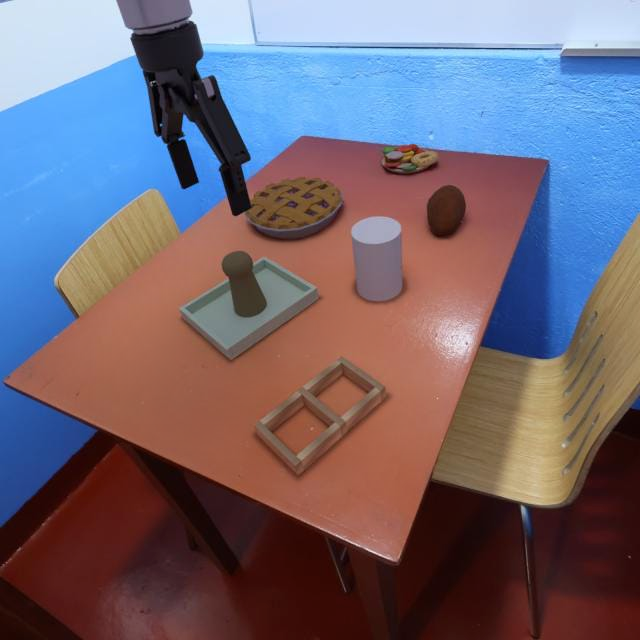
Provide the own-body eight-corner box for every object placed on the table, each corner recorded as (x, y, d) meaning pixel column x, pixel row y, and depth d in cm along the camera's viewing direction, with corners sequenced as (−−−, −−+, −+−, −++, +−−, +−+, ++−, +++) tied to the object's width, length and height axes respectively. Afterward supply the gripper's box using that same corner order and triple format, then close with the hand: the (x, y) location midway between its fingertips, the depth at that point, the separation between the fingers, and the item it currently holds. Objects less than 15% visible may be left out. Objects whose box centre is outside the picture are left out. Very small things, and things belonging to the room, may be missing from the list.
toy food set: (443, 169, 114) (444, 156, 111) (391, 181, 113) (390, 169, 110) (422, 148, 123) (422, 136, 121) (374, 159, 122) (373, 147, 120)
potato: (420, 238, 94) (420, 203, 88) (431, 208, 101) (432, 174, 96) (459, 241, 91) (462, 205, 86) (467, 211, 99) (470, 175, 93)
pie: (302, 253, 96) (298, 232, 92) (229, 228, 107) (223, 209, 103) (362, 203, 107) (360, 183, 104) (290, 185, 118) (286, 166, 115)
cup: (411, 288, 83) (411, 230, 75) (373, 307, 81) (369, 250, 73) (384, 267, 89) (381, 211, 81) (348, 284, 86) (341, 228, 78)
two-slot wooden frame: (298, 476, 60) (295, 466, 58) (257, 435, 65) (253, 425, 63) (386, 397, 67) (385, 386, 65) (343, 366, 72) (341, 355, 70)
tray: (230, 360, 76) (226, 349, 74) (183, 318, 86) (178, 308, 84) (319, 298, 85) (317, 287, 83) (267, 266, 94) (264, 256, 92)
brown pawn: (273, 300, 85) (260, 250, 77) (252, 321, 82) (236, 271, 74) (248, 291, 88) (233, 242, 80) (227, 311, 84) (209, 261, 77)
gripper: (253, 22, 47) (290, 211, 61) (142, 13, 62) (192, 167, 76) (189, 42, 43) (244, 238, 57) (88, 27, 58) (151, 185, 73)
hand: (214, 197), depth 67 cm, fingers open, 13 cm apart
